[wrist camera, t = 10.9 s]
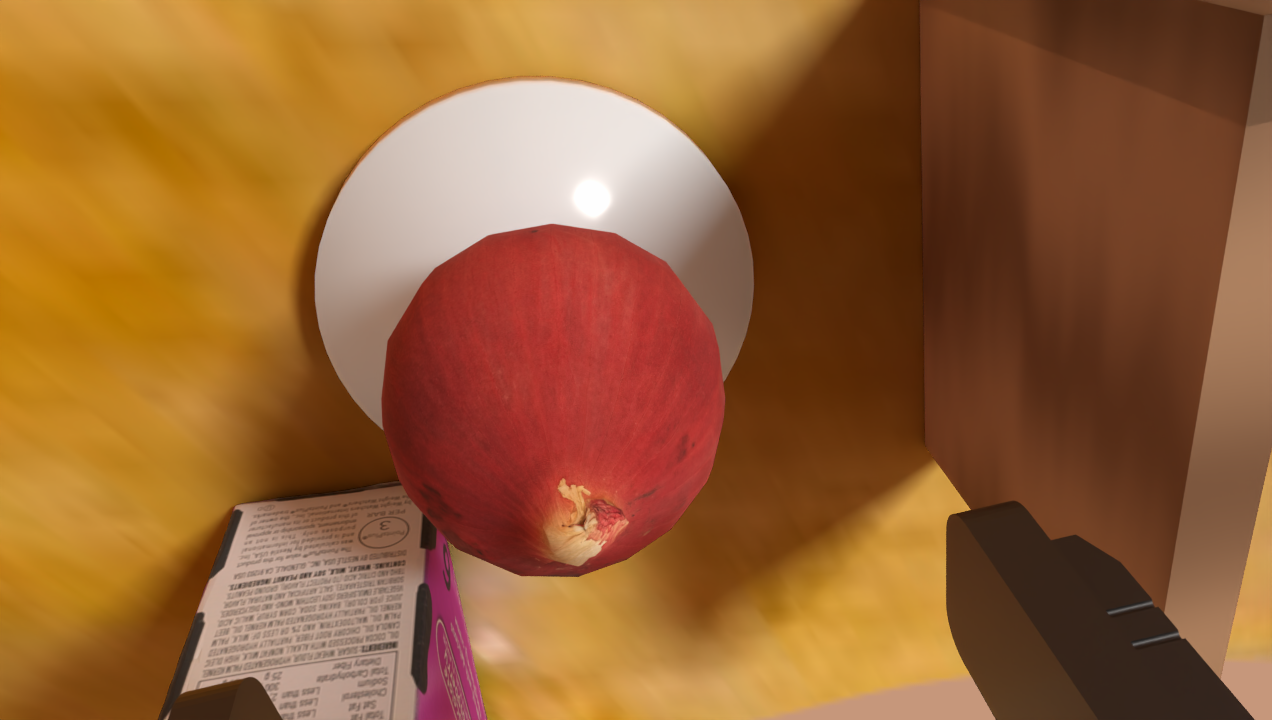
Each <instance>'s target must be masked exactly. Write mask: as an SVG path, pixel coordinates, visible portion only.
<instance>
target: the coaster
mask: <svg viewBox="0 0 1272 720" xmlns="http://www.w3.org/2000/svg"><path fill="white" fill-rule="evenodd" d="M547 224H559V225H566V226H572V227H579V228H586V229H592V230H599V231H605V232H612V233H616V234H618V235H620V236H621V237H623V238H625V239H627V240H628V241H630V242H632V243H634V244H635V245H637V246H639V247H641V248H643V249H644V250H646V251H648V252H650V253H651V254H653V255H655V256H657V257H658V258H660V259H662V260H664V261H665V262H667V264H668V265H669V266H670V267H671V269H672V270H673V271H674V273H675V274H676V275H677V277H678V278H679V279H680V281H681V282H682V283H683V285H684V286H685V287H686V289H687V290H688V291H689V293H690V294H691V296H692V297H693V298H694V300H695V301H696V302H697V304H698V305H699V306H700V308H701V309H702V310H703V312H704V313H705V314H706V316H707V317H708V319H709V320H710V321H711V323H712V324H713V327H714V331H715V335H716V339H717V343H718V346H719V353H720V361H721V369H722V377H723V382H724V381H725V380H726V378H727V376H728V374H729V372H730V370H731V368H732V367H733V365H734V363H735V361H736V359H737V357H738V354H739V352H740V349H741V347H742V344H743V341H744V339H745V336H746V333H747V329H748V324H749V320H750V316H751V312H752V303H753V293H754V270H753V257H752V252H751V247H750V241H749V236H748V233H747V230H746V227H745V224H744V221H743V218H742V215H741V212H740V210H739V208H738V206H737V204H736V202H735V200H734V198H733V196H732V194H731V192H730V190H729V188H728V186H727V185H726V183H725V182H724V181H723V179H722V178H721V176H720V175H719V173H718V172H717V171H716V169H715V168H714V166H713V165H712V164H711V162H710V161H709V159H708V158H707V156H706V155H705V154H704V152H703V151H702V150H701V149H700V148H699V147H698V146H697V145H696V144H695V143H694V142H693V141H692V139H691V138H690V137H689V136H688V135H687V134H686V133H685V132H684V131H683V130H681V129H680V128H679V127H678V126H676V125H675V124H674V123H672V122H671V121H670V120H669V119H667V118H666V117H665V116H664V115H662V114H661V113H659V112H658V111H656V110H654V109H652V108H651V107H649V106H647V105H646V104H644V103H642V102H641V101H639V100H637V99H635V98H633V97H630V96H628V95H625V94H623V93H621V92H618V91H616V90H613V89H611V88H608V87H604V86H601V85H597V84H593V83H590V82H586V81H582V80H576V79H569V78H561V77H553V76H517V77H509V78H502V79H495V80H488V81H484V82H481V83H477V84H474V85H470V86H466V87H463V88H459V89H457V90H454V91H452V92H450V93H447V94H445V95H443V96H440V97H438V98H436V99H433V100H431V101H429V102H427V103H426V104H424V105H423V106H421V107H419V108H418V109H416V110H414V111H413V112H411V113H409V114H408V115H406V116H404V117H403V118H402V119H401V120H399V121H398V122H397V123H396V124H394V125H393V126H392V127H391V128H390V129H388V130H387V131H386V132H385V133H383V134H382V135H381V136H380V137H379V138H378V139H377V140H376V142H375V143H374V144H373V145H372V146H371V147H370V148H369V149H368V150H367V151H366V152H365V153H364V155H363V156H362V157H361V158H360V160H359V161H358V163H357V164H356V165H355V167H354V168H353V170H352V171H351V173H350V174H349V176H348V177H347V179H346V180H345V182H344V184H343V186H342V188H341V190H340V192H339V194H338V197H337V199H336V201H335V203H334V205H333V207H332V210H331V212H330V215H329V217H328V220H327V223H326V226H325V229H324V232H323V236H322V239H321V242H320V245H319V250H318V257H317V263H316V270H315V305H316V311H317V318H318V324H319V329H320V332H321V336H322V339H323V342H324V345H325V349H326V352H327V354H328V356H329V359H330V361H331V363H332V365H333V367H334V369H335V371H336V373H337V375H338V377H339V379H340V380H341V382H342V383H343V385H344V386H345V388H346V389H347V391H348V392H349V394H350V395H351V397H352V398H353V400H354V401H355V402H356V403H357V404H358V405H359V407H360V408H361V409H362V410H363V411H364V412H365V413H366V415H367V416H368V417H369V418H370V419H371V420H372V421H373V422H375V423H376V424H377V425H378V426H379V427H380V428H381V429H382V430H384V429H383V426H382V404H381V398H382V388H383V379H384V369H385V360H386V351H387V341H388V339H389V337H390V336H391V334H392V332H393V331H394V329H395V327H396V326H397V324H398V322H399V321H400V319H401V317H402V316H403V314H404V312H405V311H406V309H407V307H408V306H409V304H410V302H411V301H412V299H413V297H414V296H415V294H416V293H417V291H418V289H419V288H420V286H421V284H422V283H423V282H424V281H425V279H426V278H427V277H428V276H429V274H430V273H431V272H432V271H433V270H434V268H436V267H437V266H439V265H441V264H442V263H444V262H446V261H447V260H449V259H450V258H452V257H454V256H455V255H457V254H458V253H460V252H462V251H463V250H465V249H467V248H468V247H470V246H471V245H473V244H475V243H476V242H478V241H480V240H481V239H483V238H484V237H486V236H488V235H491V234H497V233H502V232H508V231H513V230H519V229H524V228H530V227H535V226H541V225H547Z"/></svg>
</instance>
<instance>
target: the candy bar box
mask: <svg viewBox="0 0 1272 720" xmlns="http://www.w3.org/2000/svg"><path fill="white" fill-rule="evenodd" d="M247 677H254V678H256V679H257V680H258V681H259V682H260V683H261V684H262V685H263V687H264V688H265V690H266V692H267V694H268V695H269V697H270V699H271V700H272V702H273V704H274V706H275V707H276V709H277V711H278V712H279V714H280V716H281V718H282V719H283V720H487V716H486V712H485V708H484V704H483V700H482V695H481V691H480V686H479V682H478V678H477V673H476V669H475V664H474V659H473V655H472V650H471V646H470V641H469V637H468V632H467V628H466V623H465V619H464V614H463V610H462V605H461V601H460V596H459V592H458V587H457V582H456V578H455V573H454V570H453V565H452V561H451V556H450V551H449V547H448V543H447V539H446V538H445V537H444V536H443V535H442V534H441V533H440V532H439V531H438V529H437V528H436V527H435V526H434V525H433V524H432V523H431V522H430V521H429V519H428V518H427V517H426V516H425V515H424V514H423V513H422V512H421V511H420V509H419V508H418V507H417V506H416V505H415V504H414V503H413V502H412V500H411V499H410V498H409V497H408V495H407V493H406V492H405V490H404V488H403V486H402V484H401V482H400V481H399V482H388V483H381V484H376V485H372V486H368V487H362V488H357V489H351V490H345V491H338V492H331V493H323V494H312V495H303V496H294V497H285V498H276V499H271V500H265V501H259V502H250V503H242V504H239V505H236V506H235V507H234V509H233V512H232V515H231V518H230V521H229V524H228V527H227V530H226V532H225V535H224V538H223V541H222V544H221V547H220V549H219V552H218V554H217V557H216V559H215V562H214V565H213V568H212V570H211V573H210V576H209V579H208V581H207V584H206V587H205V589H204V591H203V595H202V598H201V601H200V604H199V607H198V610H197V612H196V615H195V617H194V620H193V623H192V626H191V629H190V632H189V635H188V637H187V640H186V642H185V645H184V648H183V650H182V653H181V655H180V658H179V661H178V664H177V668H176V671H175V674H174V677H173V680H172V682H171V684H170V687H169V690H168V693H167V697H166V700H165V703H164V705H163V708H162V710H161V712H160V715H159V718H158V720H168V717H169V714H170V712H171V709H172V707H173V704H174V702H175V701H176V699H177V698H178V697H179V696H180V695H181V694H182V693H184V692H187V691H192V690H196V689H200V688H204V687H209V686H213V685H217V684H221V683H226V682H230V681H234V680H239V679H243V678H247Z"/></svg>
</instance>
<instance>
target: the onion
mask: <svg viewBox="0 0 1272 720" xmlns="http://www.w3.org/2000/svg"><path fill="white" fill-rule="evenodd" d="M381 404H382V426H383V429H384V432H385V436H386V439H387V443H388V446H389V449H390V453H391V456H392V459H393V463H394V466H395V469H396V473H397V476H398V479H399V481H400V482H401V484H402V486H403V488H404V490H405V492H406V493H407V495H408V497H409V498H410V499H411V500H412V502H413V503H414V504H415V505H416V506H417V507H418V508H419V509H420V511H421V512H422V513H423V514H424V515H425V516H426V517H427V518H428V519H429V521H430V522H431V523H432V524H433V525H434V526H435V527H436V528H437V529H438V531H439V532H440V533H441V534H442V535H443V536H444V537H445V538H446V539H447V540H448V541H449V542H450V543H451V544H452V545H454V546H455V547H456V548H457V549H458V550H461V551H463V552H465V553H468V554H470V555H472V556H475V557H477V558H479V559H482V560H484V561H486V562H489V563H491V564H493V565H496V566H498V567H500V568H503V569H505V570H507V571H510V572H512V573H514V574H517V575H520V576H559V577H579V576H581V575H584V574H587V573H590V572H593V571H595V570H598V569H601V568H604V567H607V566H610V565H612V564H615V563H618V562H621V561H624V560H627V559H628V558H630V557H631V556H633V555H634V554H635V553H637V552H638V551H640V550H641V549H643V548H644V547H646V546H647V545H649V544H650V543H652V542H653V541H654V540H656V539H657V538H659V537H660V536H662V535H663V534H665V533H666V532H668V531H669V530H671V529H672V527H673V526H674V525H675V524H676V522H677V521H678V520H679V518H680V517H681V516H682V514H683V513H684V512H685V510H686V509H687V508H688V506H689V505H690V504H691V502H692V501H693V500H694V498H695V497H696V496H697V494H698V493H699V492H700V490H701V489H702V488H703V486H704V485H705V484H706V482H707V480H708V477H709V475H710V473H711V470H712V468H713V464H714V459H715V455H716V451H717V446H718V442H719V438H720V433H721V429H722V425H723V420H724V409H725V392H724V385H723V377H722V369H721V361H720V353H719V346H718V343H717V339H716V335H715V331H714V327H713V324H712V323H711V321H710V320H709V319H708V317H707V316H706V314H705V313H704V312H703V310H702V309H701V308H700V306H699V305H698V304H697V302H696V301H695V300H694V298H693V297H692V296H691V294H690V293H689V291H688V290H687V289H686V287H685V286H684V285H683V283H682V282H681V281H680V279H679V278H678V277H677V275H676V274H675V273H674V271H673V270H672V269H671V267H670V266H669V265H668V264H667V262H665V261H664V260H662V259H660V258H658V257H657V256H655V255H653V254H651V253H650V252H648V251H646V250H644V249H643V248H641V247H639V246H637V245H635V244H634V243H632V242H630V241H628V240H627V239H625V238H623V237H621V236H620V235H618V234H616V233H612V232H605V231H599V230H592V229H586V228H579V227H572V226H566V225H559V224H547V225H541V226H535V227H530V228H524V229H519V230H513V231H508V232H502V233H497V234H491V235H488V236H486V237H484V238H483V239H481V240H480V241H478V242H476V243H475V244H473V245H471V246H470V247H468V248H467V249H465V250H463V251H462V252H460V253H458V254H457V255H455V256H454V257H452V258H450V259H449V260H447V261H446V262H444V263H442V264H441V265H439V266H437V267H436V268H434V270H433V271H432V272H431V273H430V274H429V276H428V277H427V278H426V279H425V281H424V282H423V283H422V284H421V286H420V288H419V289H418V291H417V293H416V294H415V296H414V297H413V299H412V301H411V302H410V304H409V306H408V307H407V309H406V311H405V312H404V314H403V316H402V317H401V319H400V321H399V322H398V324H397V326H396V327H395V329H394V331H393V332H392V334H391V336H390V337H389V339H388V341H387V351H386V360H385V369H384V379H383V388H382V398H381Z"/></svg>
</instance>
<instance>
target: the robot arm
mask: <svg viewBox="0 0 1272 720" xmlns="http://www.w3.org/2000/svg"><path fill="white" fill-rule="evenodd" d="M946 607H947V616H948V621H949V625H950V629H951V633H952V636H953V639H954V642H955V645H956V647H957V650H958V652H959V654H960V656H961V658H962V660H963V662H964V664H965V666H966V668H967V669H968V671H969V673H970V675H971V676H972V678H973V680H974V682H975V684H976V685H977V687H978V689H979V690H980V692H981V694H982V696H983V698H984V699H985V701H986V703H987V705H988V706H989V708H990V710H991V712H992V714H993V715H994V717H995V719H996V720H1254V718H1253V717H1252V716H1251V715H1250V714H1249V713H1248V711H1247V710H1246V709H1245V708H1244V707H1243V706H1242V704H1241V703H1240V702H1239V701H1238V700H1237V699H1236V697H1235V696H1234V695H1233V694H1232V693H1231V691H1230V690H1229V689H1228V688H1227V687H1226V686H1225V684H1224V683H1223V682H1222V681H1221V680H1220V678H1219V677H1218V676H1217V675H1216V674H1215V673H1214V671H1213V670H1212V669H1211V668H1210V667H1209V665H1208V664H1207V663H1206V662H1205V661H1204V660H1203V658H1202V657H1201V656H1200V655H1199V654H1198V653H1197V651H1196V650H1195V649H1194V648H1193V647H1192V645H1191V644H1190V643H1189V642H1188V641H1187V640H1186V638H1184V639H1182V638H1181V637H1180V635H1179V632H1178V629H1177V628H1176V627H1175V625H1174V624H1173V623H1172V622H1171V621H1170V620H1169V618H1168V617H1167V616H1166V615H1165V614H1164V613H1163V611H1162V610H1161V609H1160V608H1159V607H1155V606H1154V605H1153V602H1152V598H1151V597H1150V596H1149V595H1148V594H1147V593H1146V591H1145V590H1144V589H1143V588H1142V587H1141V585H1140V584H1139V583H1138V582H1137V581H1136V580H1135V578H1134V577H1133V576H1132V575H1131V574H1130V573H1129V571H1128V570H1127V569H1126V568H1125V567H1124V565H1123V564H1122V563H1121V562H1120V561H1118V560H1116V559H1115V558H1113V557H1112V556H1110V555H1108V554H1107V553H1105V552H1103V551H1102V550H1100V549H1099V548H1097V547H1095V546H1094V545H1092V544H1090V543H1089V542H1087V541H1086V540H1084V539H1082V538H1081V537H1079V536H1077V535H1076V534H1075V535H1071V536H1067V537H1062V538H1058V539H1054V540H1050V538H1049V537H1048V536H1047V535H1046V533H1045V532H1044V531H1043V529H1042V528H1041V527H1040V526H1039V524H1038V523H1037V522H1036V520H1035V519H1034V518H1033V517H1032V515H1031V514H1030V513H1029V511H1028V510H1027V509H1026V508H1025V507H1024V506H1023V505H1022V504H1021V503H1019V502H1017V501H1014V500H1012V501H1008V502H1004V503H999V504H995V505H991V506H987V507H982V508H978V509H974V510H969V511H965V512H961V513H957V514H952V515H950V516H949V518H948V520H947V528H946ZM168 720H283V719H282V718H281V716H280V714H279V712H278V711H277V709H276V707H275V706H274V704H273V702H272V700H271V699H270V697H269V695H268V694H267V692H266V690H265V688H264V687H263V685H262V684H261V683H260V682H259V681H258V680H257V679H256V678H254V677H247V678H243V679H239V680H234V681H230V682H226V683H221V684H217V685H213V686H209V687H204V688H200V689H196V690H192V691H187V692H184V693H182V694H181V695H180V696H179V697H178V698H177V699H176V701H175V702H174V704H173V707H172V709H171V712H170V714H169V717H168Z"/></svg>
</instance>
